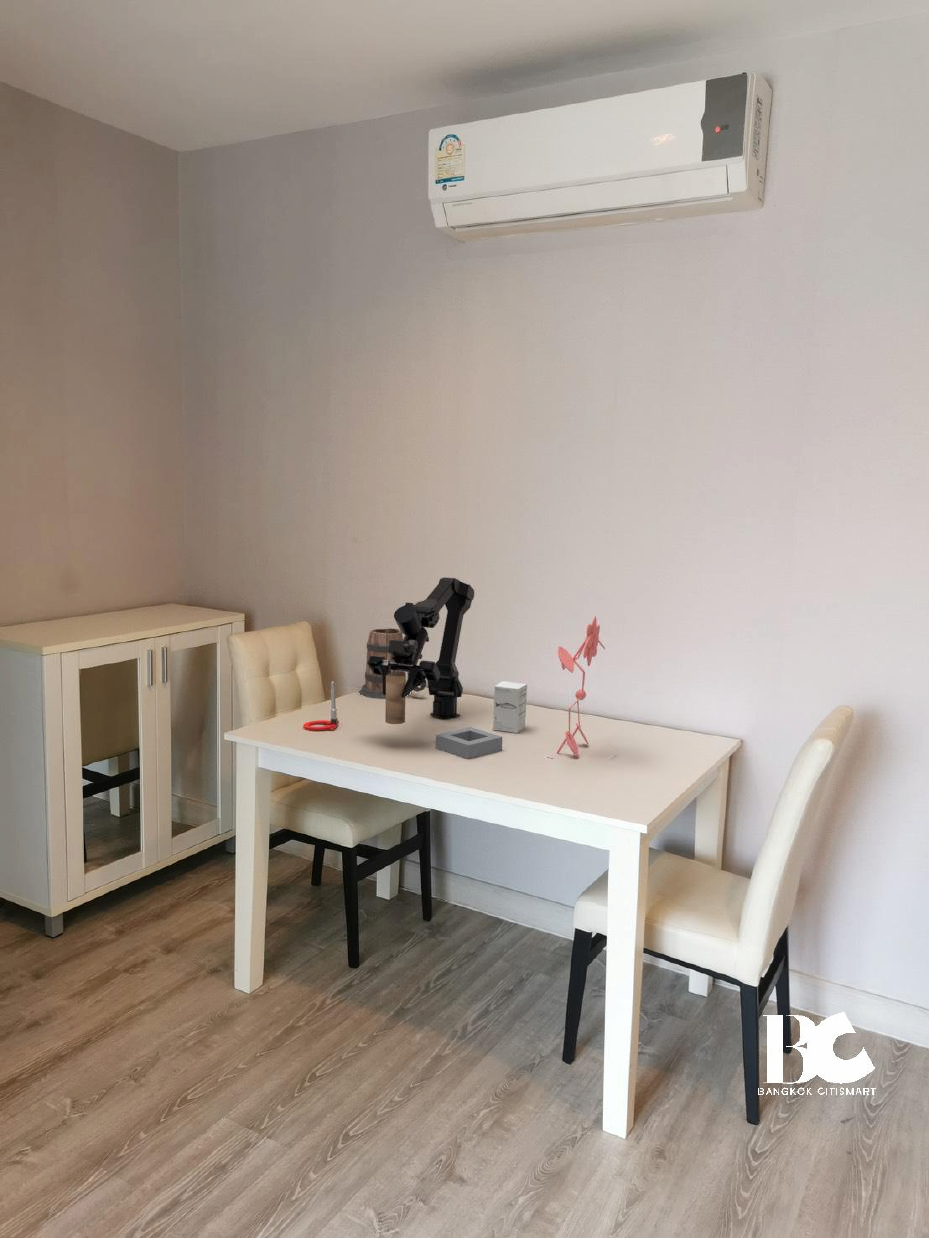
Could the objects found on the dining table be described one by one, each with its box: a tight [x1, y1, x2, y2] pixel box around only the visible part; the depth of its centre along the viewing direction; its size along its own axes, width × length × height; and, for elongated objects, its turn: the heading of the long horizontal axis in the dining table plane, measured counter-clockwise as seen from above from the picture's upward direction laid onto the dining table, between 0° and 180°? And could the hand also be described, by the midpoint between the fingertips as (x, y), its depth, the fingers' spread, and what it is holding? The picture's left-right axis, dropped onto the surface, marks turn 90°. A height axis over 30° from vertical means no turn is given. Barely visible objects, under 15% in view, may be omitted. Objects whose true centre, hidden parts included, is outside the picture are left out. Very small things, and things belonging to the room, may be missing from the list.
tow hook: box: [302, 681, 340, 732], centre depth 254 cm, size 8×13×9 cm
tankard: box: [358, 627, 427, 700], centre depth 293 cm, size 24×17×20 cm
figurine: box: [546, 615, 616, 760], centre depth 235 cm, size 15×26×35 cm, turn 158°
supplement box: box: [492, 680, 528, 734], centre depth 257 cm, size 7×7×13 cm
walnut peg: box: [384, 674, 407, 725], centre depth 238 cm, size 5×5×12 cm
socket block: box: [435, 726, 503, 760], centre depth 238 cm, size 12×12×4 cm
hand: (393, 695), depth 236 cm, fingers closed on walnut peg, 5 cm apart
